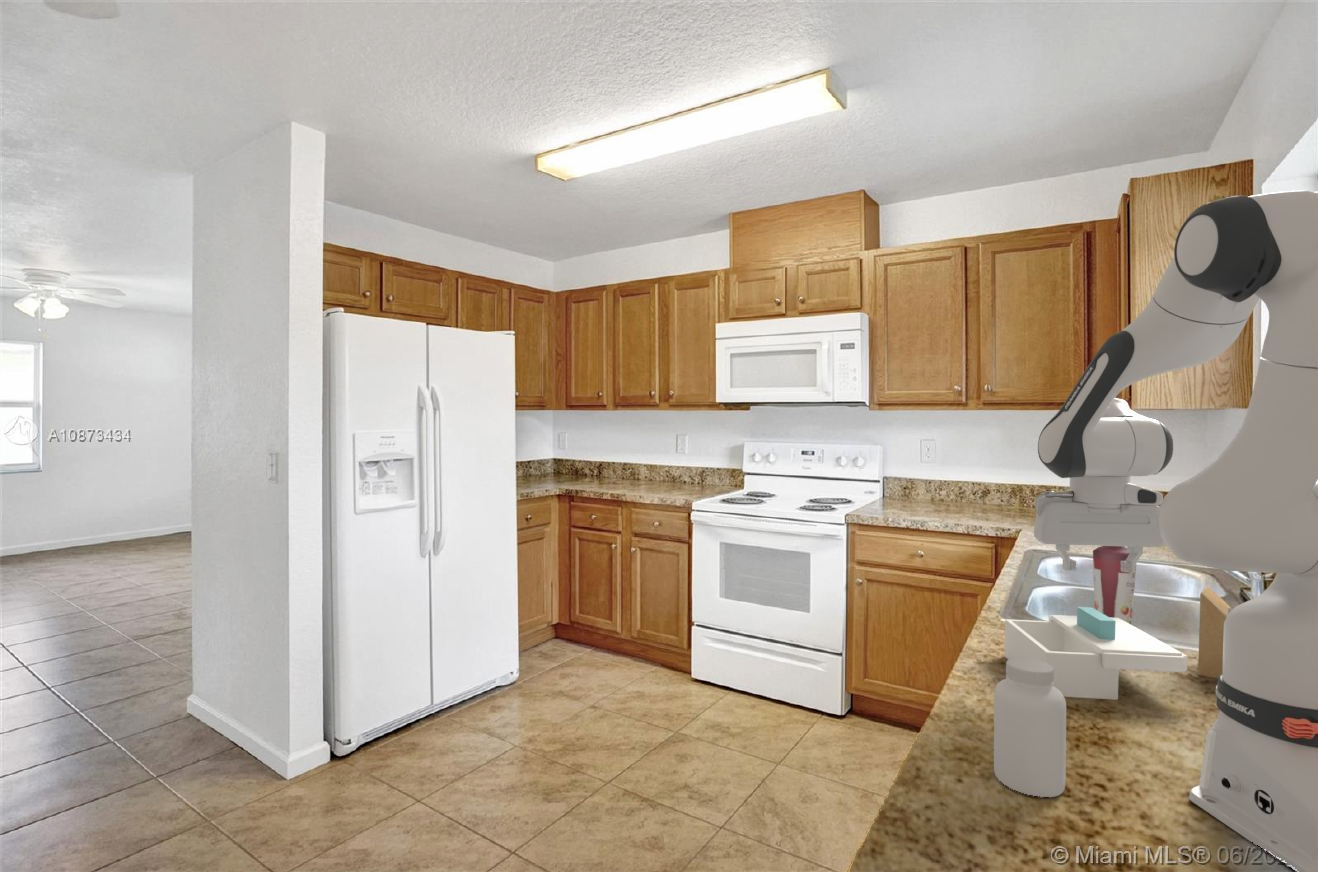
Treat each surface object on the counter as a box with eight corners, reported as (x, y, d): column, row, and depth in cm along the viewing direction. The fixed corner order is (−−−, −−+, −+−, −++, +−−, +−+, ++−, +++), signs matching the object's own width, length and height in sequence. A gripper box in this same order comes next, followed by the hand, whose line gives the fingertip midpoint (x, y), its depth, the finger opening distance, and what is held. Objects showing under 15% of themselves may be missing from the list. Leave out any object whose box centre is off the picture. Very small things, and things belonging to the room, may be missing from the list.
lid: (1190, 672, 106) (1191, 635, 106) (1104, 668, 108) (1105, 631, 108) (1119, 631, 126) (1120, 599, 126) (1048, 628, 128) (1049, 596, 128)
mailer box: (1117, 699, 109) (1119, 656, 108) (1045, 695, 110) (1046, 652, 110) (1066, 659, 127) (1067, 621, 126) (1004, 656, 128) (1005, 619, 128)
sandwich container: (1317, 701, 109) (1321, 610, 108) (1197, 675, 119) (1199, 592, 119) (1317, 686, 115) (1320, 599, 114) (1203, 662, 126) (1205, 583, 125)
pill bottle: (1000, 758, 90) (1003, 648, 89) (1070, 779, 85) (1072, 663, 84) (985, 784, 84) (988, 666, 83) (1059, 808, 79) (1062, 682, 78)
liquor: (1128, 655, 129) (1132, 511, 128) (1085, 645, 134) (1089, 507, 133) (1139, 647, 133) (1143, 507, 133) (1096, 637, 139) (1100, 503, 138)
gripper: (1043, 492, 115) (1042, 572, 115) (1173, 494, 112) (1172, 577, 112) (1028, 489, 121) (1027, 565, 121) (1151, 491, 118) (1150, 569, 118)
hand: (1098, 571), depth 117 cm, fingers open, 8 cm apart
